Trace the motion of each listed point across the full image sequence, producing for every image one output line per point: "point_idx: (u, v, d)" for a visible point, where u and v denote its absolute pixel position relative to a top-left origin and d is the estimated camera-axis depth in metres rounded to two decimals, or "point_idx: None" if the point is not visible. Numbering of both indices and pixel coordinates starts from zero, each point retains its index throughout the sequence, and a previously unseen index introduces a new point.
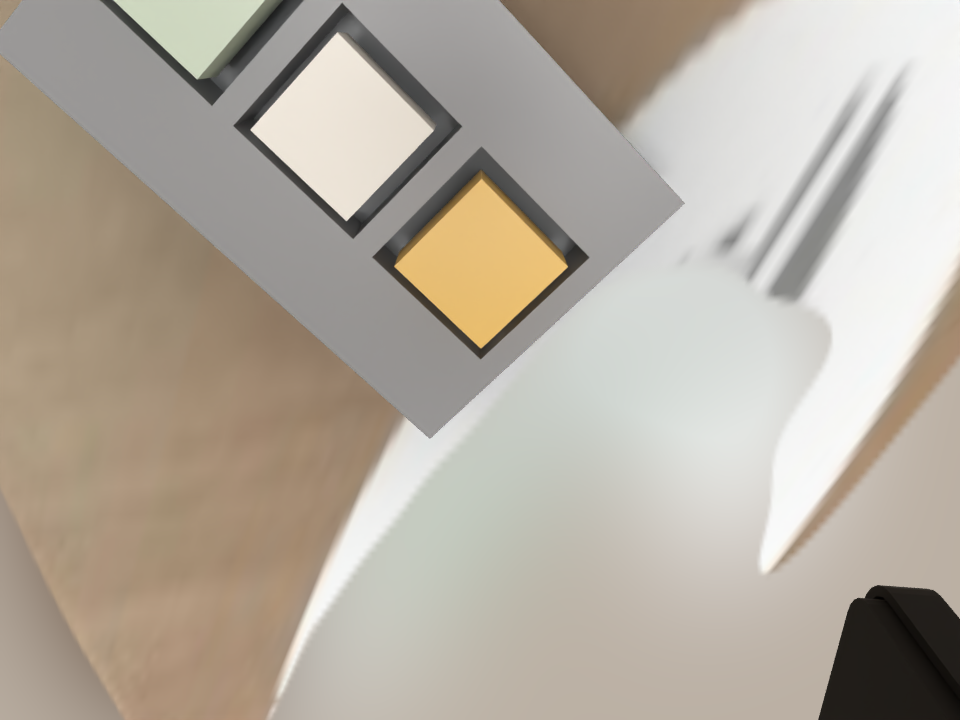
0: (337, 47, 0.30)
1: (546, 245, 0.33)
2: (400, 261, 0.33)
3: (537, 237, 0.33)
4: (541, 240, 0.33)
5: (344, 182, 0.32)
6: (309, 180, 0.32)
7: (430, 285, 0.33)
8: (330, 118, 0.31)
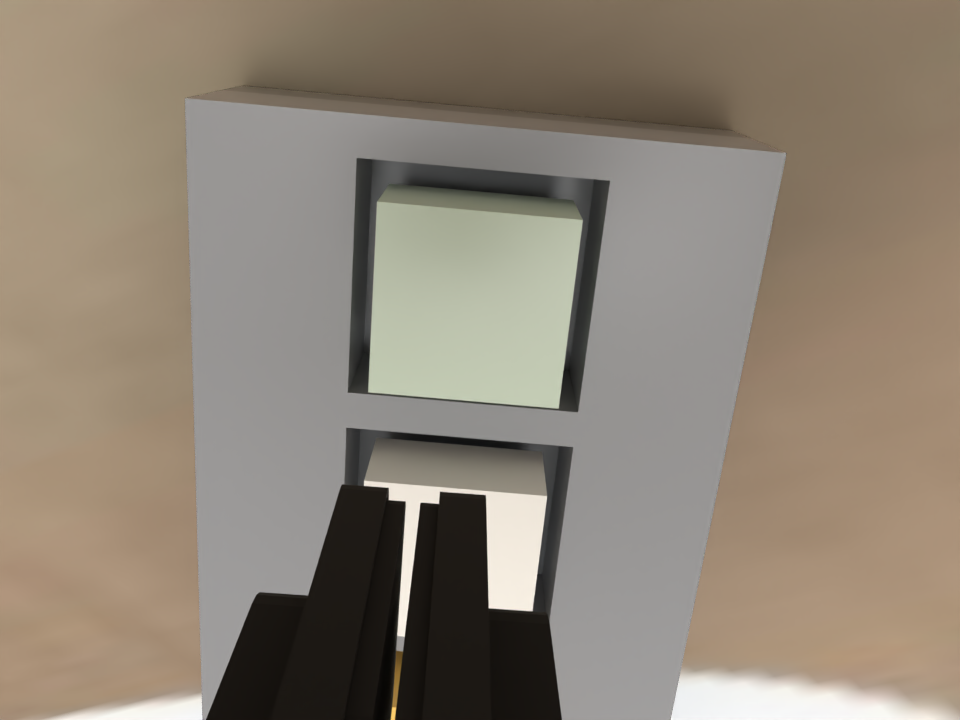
0: (531, 506, 0.22)
1: None
2: None
3: None
4: None
5: None
6: None
7: None
8: None
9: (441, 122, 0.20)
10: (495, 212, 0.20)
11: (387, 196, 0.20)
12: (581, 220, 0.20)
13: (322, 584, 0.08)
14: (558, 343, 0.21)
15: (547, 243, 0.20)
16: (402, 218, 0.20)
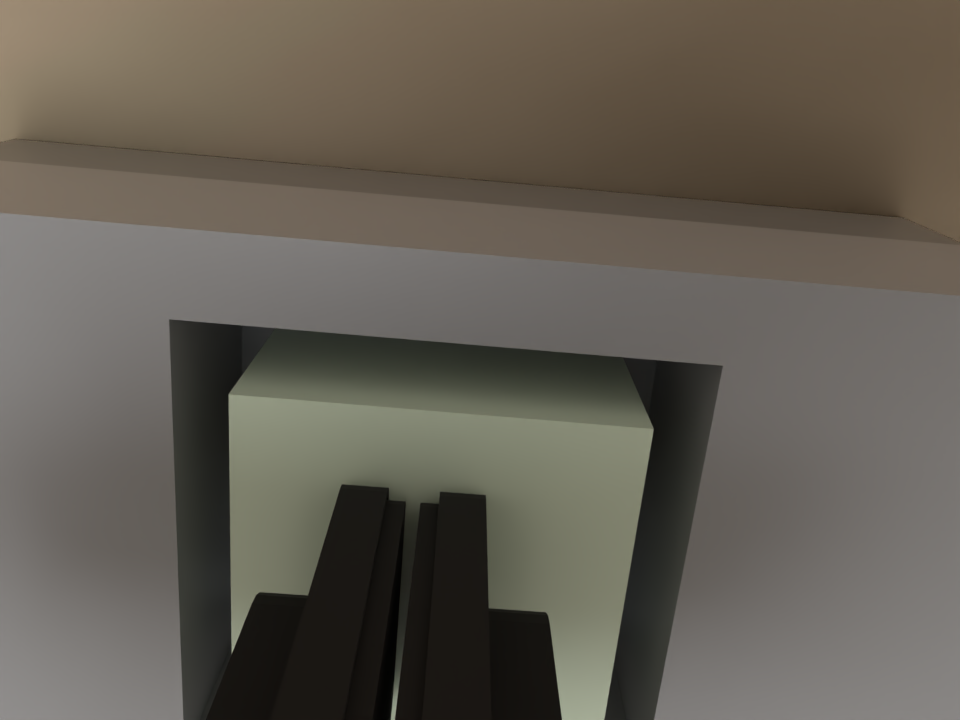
0: None
1: None
2: None
3: None
4: None
5: None
6: None
7: None
8: None
9: (352, 245, 0.09)
10: (474, 413, 0.10)
11: (258, 371, 0.10)
12: (651, 429, 0.10)
13: (322, 584, 0.08)
14: (599, 650, 0.11)
15: (582, 472, 0.10)
16: (283, 426, 0.10)
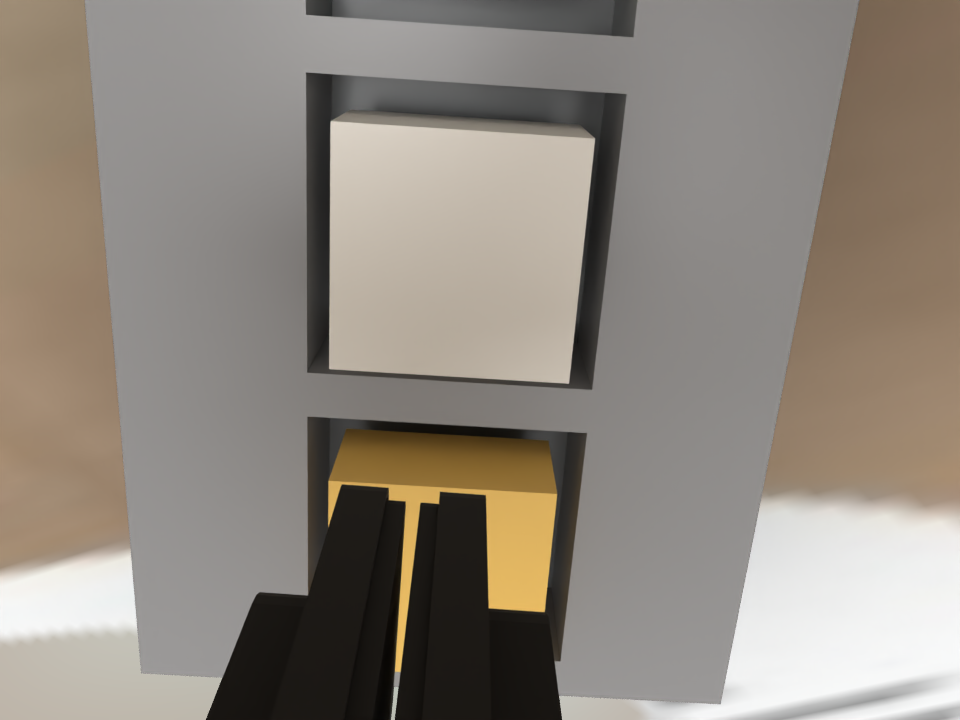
0: (571, 156, 0.15)
1: None
2: (343, 482, 0.18)
3: None
4: None
5: (383, 322, 0.17)
6: (338, 271, 0.16)
7: None
8: (458, 229, 0.16)
9: None
10: None
11: None
12: None
13: (322, 584, 0.08)
14: None
15: None
16: None
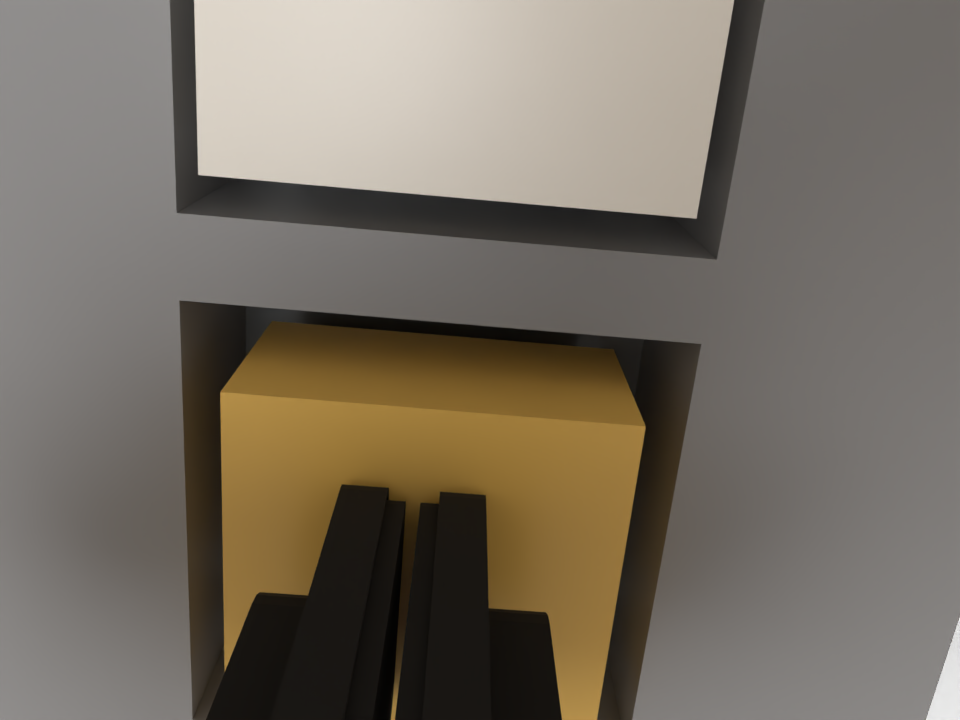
0: None
1: (600, 679, 0.11)
2: (249, 395, 0.10)
3: (603, 650, 0.11)
4: (603, 662, 0.11)
5: (310, 70, 0.08)
6: None
7: (260, 516, 0.10)
8: None
9: None
10: None
11: None
12: None
13: (322, 584, 0.08)
14: None
15: None
16: None
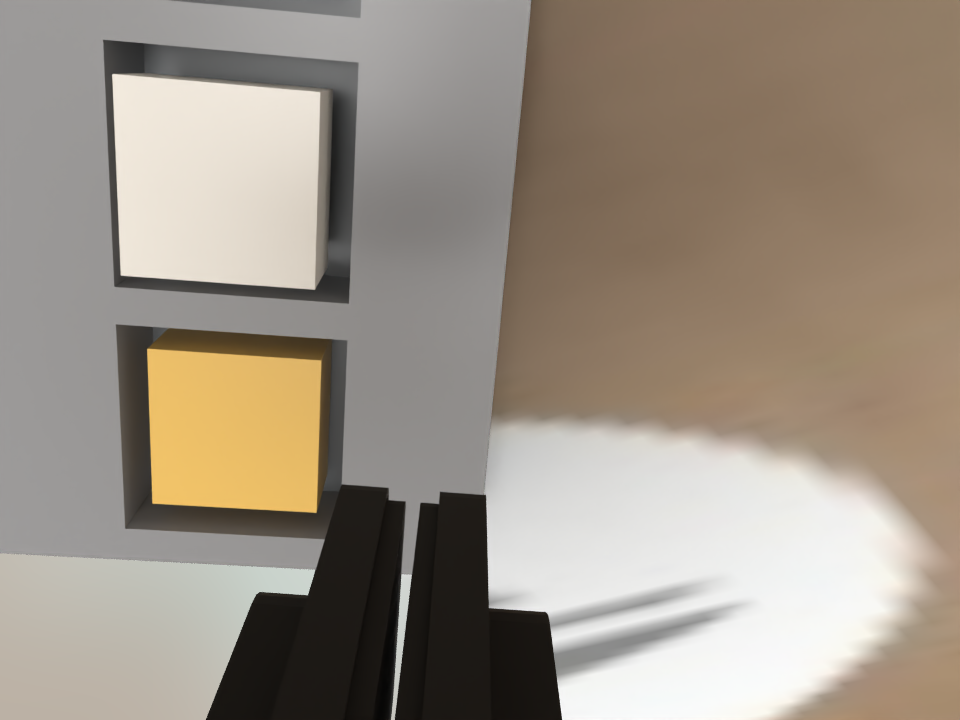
0: (303, 105, 0.20)
1: (317, 475, 0.25)
2: (159, 350, 0.24)
3: (316, 461, 0.25)
4: (317, 467, 0.25)
5: (162, 237, 0.21)
6: (124, 194, 0.20)
7: (165, 401, 0.24)
8: (218, 161, 0.20)
9: None
10: None
11: None
12: None
13: (322, 584, 0.08)
14: None
15: None
16: None
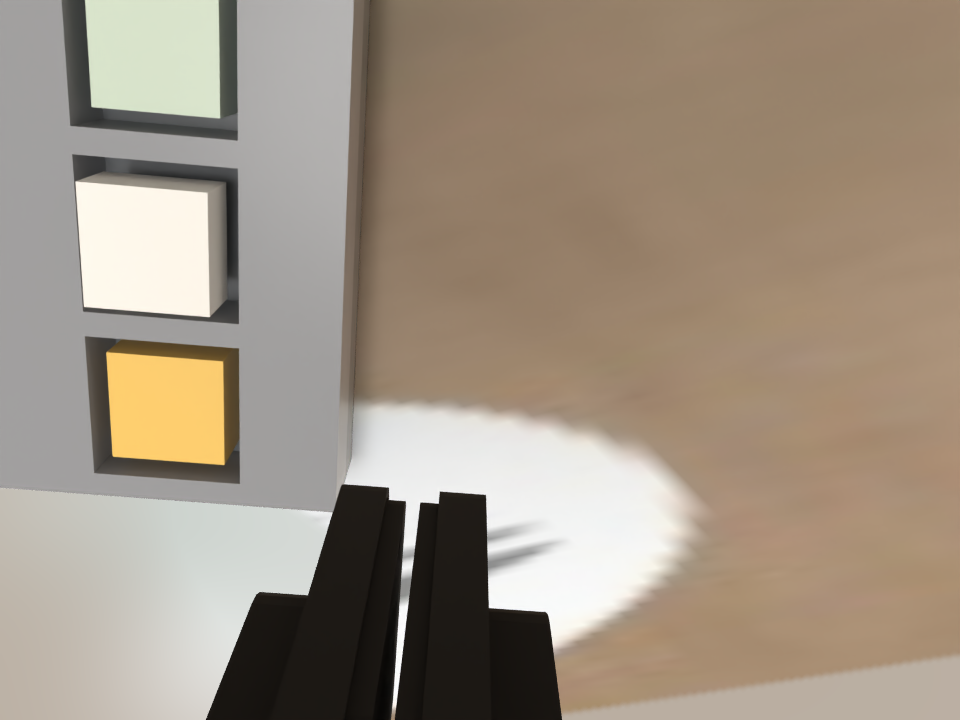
0: (196, 201, 0.31)
1: (223, 439, 0.36)
2: (114, 353, 0.35)
3: (222, 429, 0.36)
4: (223, 433, 0.36)
5: (110, 283, 0.32)
6: (84, 256, 0.32)
7: (119, 387, 0.36)
8: (144, 235, 0.32)
9: None
10: None
11: None
12: None
13: (322, 584, 0.08)
14: (213, 70, 0.31)
15: None
16: None
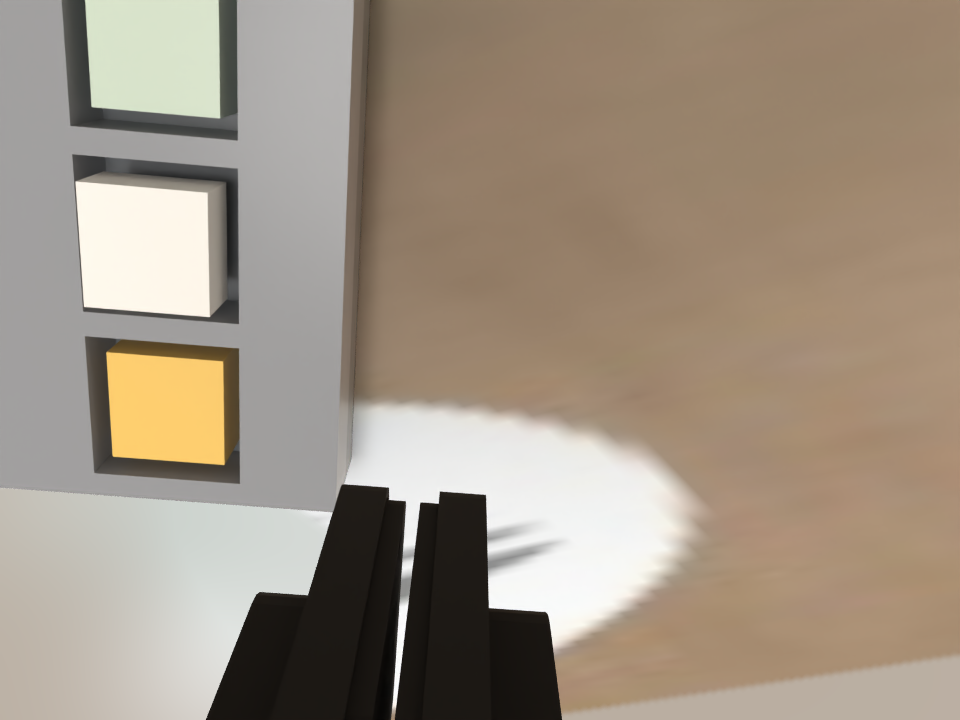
0: (196, 201, 0.31)
1: (224, 439, 0.36)
2: (114, 353, 0.35)
3: (222, 429, 0.36)
4: (223, 433, 0.36)
5: (110, 283, 0.32)
6: (84, 255, 0.32)
7: (119, 387, 0.36)
8: (144, 235, 0.32)
9: None
10: None
11: None
12: None
13: (322, 584, 0.08)
14: (213, 70, 0.31)
15: None
16: None
